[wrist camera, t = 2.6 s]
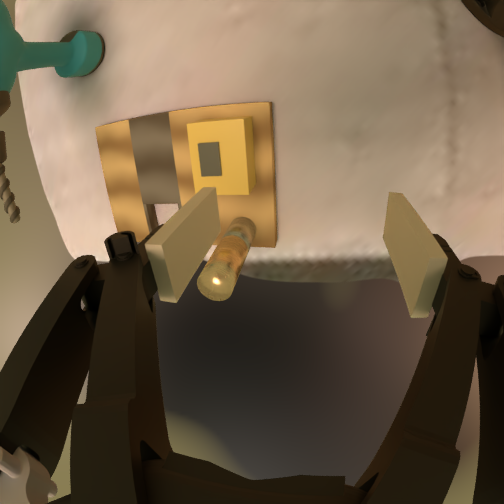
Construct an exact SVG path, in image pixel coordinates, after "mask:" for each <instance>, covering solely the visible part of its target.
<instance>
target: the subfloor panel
mask: <svg viewBox="0 0 504 504" xmlns="http://www.w3.org/2000/svg"><path fill="white" fill-rule="evenodd" d="M242 116H252V127H253V143H254V158H255V175H256V184H255V186H254V188H253V189H252V191H251V192H250V194H249V195H217V201H218V210H219V218H220V226H221V232H220V233H219V235H218V237H217V238H216V240H215V241H214V243H213V244H212V245H218V244H219V242H220V240H221V239H222V237H223V235H224V234H225V232H226V230H227V229H228V227H229V226H230V224H231V222H232V221H233V220H234V219H235V218H237V217H247V218H249V219H251V220H252V221H253V222H254V224H255V226H256V234H255V237H254V239H253V242H252V244H251V247H272V248H275V246H276V242H277V218H276V186H275V160H274V138H273V118H272V102H256V103H239V104H227V105H216V106H207V107H198V108H190V109H183V110H176V111H170V112H164V113H158V114H153V115H147V116H142V117H137V118H132V119H128V120H123V121H119V122H115V123H111V124H106V125H103V126H99V127H96V128H95V129H96V135H97V142H98V147H99V153H100V158H101V164H102V169H103V173H104V178H105V183H106V187H107V192H108V196H109V200H110V204H111V208H112V212H113V216H114V220H115V224H116V227H117V231H118V232H121V231H132V232H134V233H135V237H136V241H137V242H141V241H142V240H143V239H145V237H146V236H147V235H149V233H150V232H151V231H152V230H153V229H155V228H156V227H158V222H157V217H156V212H155V207H154V204H175V203H178V208H179V209H181V208H182V207H183V206H184V205H185V204H186V203H187V202H188V201H189V200H190V199H191V198H192V197H193V196H194V195H195V188H194V180H193V173H192V165H191V157H190V149H189V140H188V132H187V124H188V123H191V122H195V121H198V120H204V119H215V118H227V117H242Z"/></svg>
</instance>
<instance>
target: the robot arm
mask: <svg viewBox="0 0 504 504" xmlns="http://www.w3.org/2000/svg"><path fill="white" fill-rule="evenodd" d="M462 2H463V3H464V4H465V5H466V7H467V8H468V9H469V10H470V11H471V12H472V14H473V15H474V16H475V17H476V18H477V19H478V20H479V21H481V22H482V23H483V24H484V25H485V26H487V27H488V28H489V29H491V30H492V31H494V32H495V33H497V34H499V35H501V36H503V37H504V0H462ZM220 232H221V226H220V218H219V210H218V201H217V192H216V187H203V188H202V189H201V190H200V191H199V192H198V193H196V194H195V195H194V196H193V197H192V198H191V199H190V200H189V201H188V202H187V203H186V204H185V205H184V206H183V207H182V208H181V209H179V210H178V211H177V212H176V213H175V214H174V215H173V216H172V217H171V218H170V219H169V220H168V221H167V222H166V223H165V224H162V225H160V226H158V227H156V228H155V229H153V230H152V231H151V232H150V233H149V235H147V236H146V237H145V239H143V240H142V241H141V242H140V243H139V244H138V245H137V241H136V237H135V233H134V232H132V231H121V232H118V233H115V234H113V235H111V236H109V237H108V238H107V239H106V240H105V241H104V243H105V246H106V249H107V252H108V255H109V258H110V261H109V263H106V264H99V265H97V262H96V259H95V256H93V255H85V256H84V255H83V256H81V257H78V258H77V259H76V260H74V261H73V262H72V263H71V264H70V265H69V266H68V268H67V269H66V270H65V272H64V273H63V274H62V276H61V277H60V278H59V280H58V281H57V282H56V284H55V285H54V286H53V288H52V289H51V291H50V292H49V293H48V295H47V296H46V298H45V299H44V301H43V302H42V304H41V305H40V306H39V308H38V310H37V311H36V312H35V314H34V316H33V317H32V319H31V320H30V322H29V324H28V325H27V326H26V328H25V330H24V331H23V333H22V335H21V336H20V338H19V340H18V341H17V343H16V345H15V346H14V348H13V350H12V352H11V353H10V355H9V357H8V359H7V361H6V362H5V364H4V366H3V368H2V370H1V372H0V504H442V503H443V501H444V499H445V497H446V494H447V492H448V490H449V487H450V485H451V483H452V480H453V478H454V475H455V473H456V470H457V467H458V464H459V460H460V451H458V450H457V449H456V447H455V445H456V441H457V438H458V435H459V431H460V428H461V425H462V421H463V417H464V413H465V409H466V405H467V401H468V397H469V392H470V388H471V383H472V377H473V371H474V366H475V358H477V367H478V379H479V395H480V440H479V441H480V442H479V456H478V468H477V476H476V483H475V490H474V496H473V504H504V275H501V276H499V277H498V278H497V281H496V283H495V285H492V284H489V283H485V282H482V281H481V276H480V274H479V273H478V272H477V271H476V270H475V269H474V268H472V267H470V266H468V265H464V264H461V262H460V261H459V259H458V258H457V256H456V255H455V253H454V252H453V250H452V249H451V248H450V247H449V245H448V243H447V242H446V240H445V239H443V238H442V237H441V236H439V235H438V234H432V233H431V232H430V230H429V229H428V228H427V226H426V225H425V223H424V222H423V221H422V219H421V218H420V216H419V215H418V214H417V212H416V211H415V210H414V208H413V207H412V206H411V204H410V203H409V202H408V200H407V199H406V198H405V197H404V195H403V194H402V193H392V192H389V197H388V206H387V213H386V221H385V227H384V234H383V239H384V242H385V244H386V247H387V249H388V252H389V255H390V257H391V260H392V263H393V265H394V268H395V271H396V274H397V276H398V279H399V282H400V285H401V288H402V291H403V294H404V297H405V300H406V303H407V307H408V310H409V313H410V316H411V318H428V315H429V313H430V310H431V307H433V309H434V312H435V315H434V318H433V320H432V322H431V325H430V327H429V329H428V331H427V334H426V336H427V339H426V342H425V345H424V348H423V351H422V354H421V357H420V359H419V362H418V365H417V368H416V370H415V373H414V375H413V378H412V381H411V383H410V385H409V388H408V390H407V392H406V395H405V397H404V400H403V402H402V404H401V406H400V408H399V410H398V413H397V415H396V417H395V419H394V421H393V423H392V425H391V427H390V429H389V431H388V433H387V435H386V437H385V439H384V440H383V442H382V444H381V446H380V448H379V450H378V452H377V453H376V455H375V457H374V459H373V460H372V462H371V463H370V465H369V466H368V468H367V469H366V471H365V472H364V473H363V475H362V476H361V477H360V479H359V480H358V481H357V483H356V484H355V486H354V487H353V486H350V485H346V484H345V476H310V475H297V476H291V477H283V478H274V479H264V480H250V479H247V478H244V477H242V476H240V475H237V474H235V473H233V472H230V471H228V470H226V469H224V468H221V467H219V466H217V465H215V464H213V463H211V462H209V461H205V460H201V459H197V458H192V457H189V456H185V455H182V454H178V453H175V452H173V450H172V448H171V446H170V442H169V438H168V431H167V425H166V418H165V411H164V404H163V396H162V387H161V377H160V367H159V356H158V343H157V327H156V306H155V301H154V298H153V295H154V294H155V292H156V291H157V290H158V293H159V296H160V300H161V301H168V302H175V303H176V302H177V301H178V299H179V298H180V296H181V295H182V293H183V291H184V290H185V288H186V286H187V285H188V283H189V281H190V280H191V278H192V276H193V275H194V273H195V272H196V270H197V268H198V267H199V265H200V264H201V262H202V260H203V259H204V257H205V256H206V254H207V252H208V251H209V249H210V248H211V246H212V244H213V243H214V241H215V240H216V238H217V237H218V235H219V233H220ZM81 299H82V301H83V303H84V305H85V307H84V309H83V310H82V309H81ZM88 371H89V376H88V385H87V397H86V402H85V403H84V404H77V402H78V399H79V395H80V393H81V390H82V387H83V384H84V381H85V379H86V376H87V373H88ZM71 420H72V426H71V447H70V479H71V480H70V481H71V494H69V495H66V496H64V497H61V498H59V499H57V500H54V501H51V502H49V503H48V497H53V496H55V495H56V493H57V486H56V484H55V483H54V482H53V481H52V480H51V477H52V475H53V473H54V471H55V469H56V467H57V464H58V462H59V460H60V457H61V454H62V451H63V448H64V444H65V441H66V437H67V433H68V430H69V427H70V423H71Z"/></svg>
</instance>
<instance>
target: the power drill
mask: <svg viewBox="0 0 504 504" xmlns="http://www.w3.org/2000/svg"><path fill="white" fill-rule="evenodd" d="M103 54H104V43H103V39H102V37H101V36H100V35H99V34H98V33H96V32H91V31H80V30H76V31H72V32H70V33H68V34H67V35H65V36H64V37H63V38H62V39H61V41H60V42H24V41H23V39H22V37H21V36H20V34H19V33H18V32H17V31H16V30H15V29H14V27H13V24H12V21H11V17H10V14H9V11H8V9H7V7H6V5H5V4H4V2H3V1H2V0H0V116H2V115H3V114H4V113H5V112H6V111H7V110H8V108H9V107H10V104H11V101H10V95H9V93H10V91H11V89H12V87H13V85H14V82H15V78H16V72H19V71H23V70H29V69H36V68H44V67H55V70H56V72H57V74H58V75H59V76H60V77H64V78H67V77H78V76H85V75H88V74H90V73H91V72H93V71H94V70H95V69H96V68H97V67H98V65H99V64H100V62H101V61H102V58H103ZM6 159H7V154H6V142H5V132H4V131H0V197H1V199H3V200H4V203H5V204H4V208H5V211H6V212H7V213H8V214H9V216H10V221H11V222H12V223H17V222H18V221H19V220H20V215H19V214H20V209H19V208H18V207H17V206H16V205H15V202H14V199H15V198H14V194H13V193H12V192H11V191H10V188H9V185H10V182H9V180H8V179H7V178H6V176H5V173H4V172H5V166H4V165H2V163H3V162H4V161H5V160H6Z"/></svg>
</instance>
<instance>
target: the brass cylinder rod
mask: <svg viewBox="0 0 504 504" xmlns="http://www.w3.org/2000/svg"><path fill="white" fill-rule="evenodd" d="M255 234H256V226H255V224H254V222H253V221H252V220H251V219H249V218H247V217H237V218H235V219H234V220H233V221H232V222H231V224H230V226H229V227H228V229H227V230H226V232H225V234H224V235H223V237H222V239H221V240H220V242H219V244H218V245H217V247H216V249H215V250H214V252H213V254H212V255H211V257H210V259H209V260H208V262H207V264H206V266H205V267H204V269H203V271H202V272H201V274H200V276H199V277H198V280H197V285H198V288H199V290H200V291H201V293H202V294H203V295H204V296H206V297H207V298H209V299H212V300H215V301H222V300H225V299H227V298H229V297H230V295H231V294H232V291H233V289H234V286H235V284H236V281H237V279H238V276H239V274H240V271H241V269H242V266H243V264H244V261H245V259H246V257H247V254H248V252H249V249H250V247H251V244H252V242H253V239H254V237H255Z"/></svg>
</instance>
